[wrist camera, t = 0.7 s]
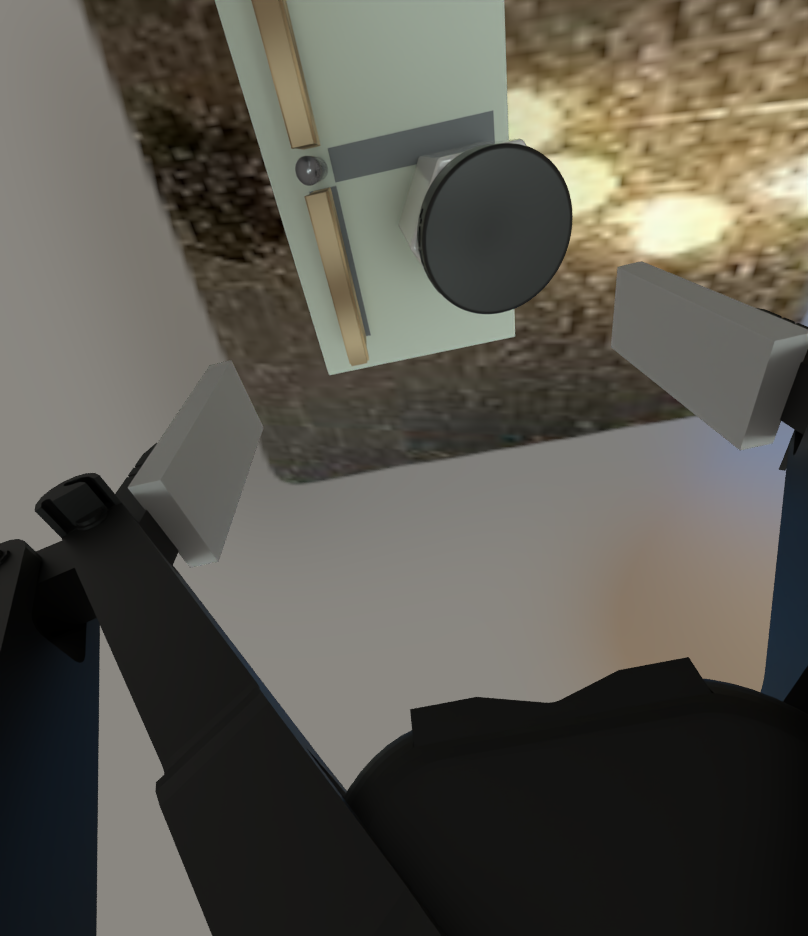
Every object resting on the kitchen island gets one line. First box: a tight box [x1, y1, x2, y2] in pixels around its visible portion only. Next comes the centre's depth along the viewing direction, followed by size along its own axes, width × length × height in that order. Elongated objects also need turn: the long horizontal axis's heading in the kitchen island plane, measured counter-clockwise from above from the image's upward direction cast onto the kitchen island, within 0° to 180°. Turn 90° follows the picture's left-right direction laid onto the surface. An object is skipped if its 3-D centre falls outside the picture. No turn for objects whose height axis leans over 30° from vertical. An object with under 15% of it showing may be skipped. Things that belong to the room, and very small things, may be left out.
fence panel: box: [251, 0, 321, 150], centre depth 24 cm, size 11×2×6 cm, turn 10°
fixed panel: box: [304, 187, 369, 366], centre depth 32 cm, size 11×2×6 cm, turn 10°
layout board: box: [215, 0, 515, 375], centre depth 31 cm, size 29×17×1 cm, turn 10°
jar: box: [399, 139, 572, 314], centre depth 28 cm, size 9×8×12 cm
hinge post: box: [295, 156, 328, 186], centre depth 28 cm, size 1×1×8 cm
